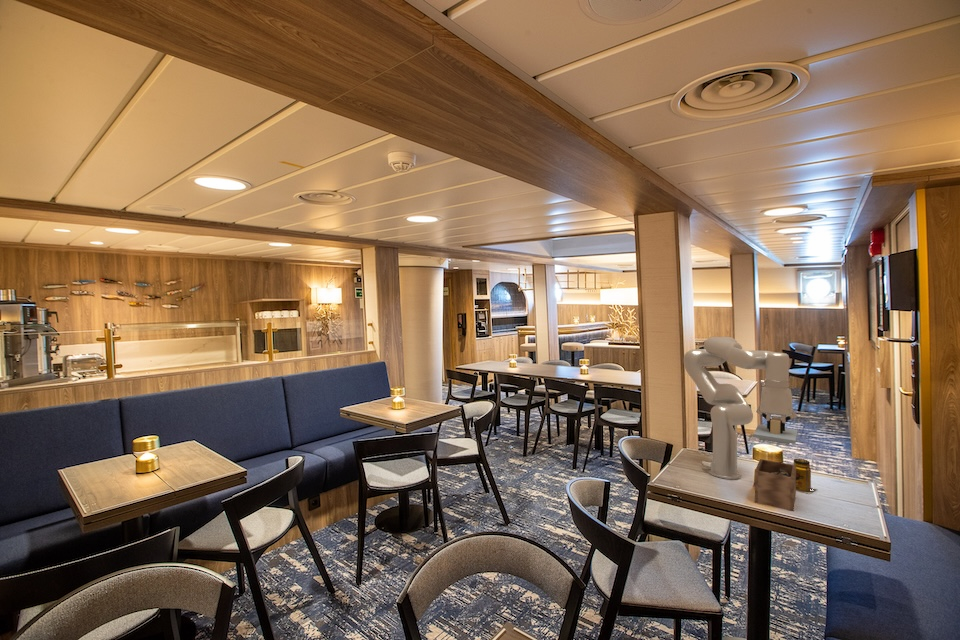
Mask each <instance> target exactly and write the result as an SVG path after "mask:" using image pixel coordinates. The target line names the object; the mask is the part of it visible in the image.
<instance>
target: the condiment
mask: <svg viewBox="0 0 960 640" xmlns="http://www.w3.org/2000/svg"><path fill="white" fill-rule="evenodd" d="M810 464H811V462H810V461H809V460H808V459H803V458H794V459H793V465H796V492H800V493H804V494H808V495H809V494H812V493H814V492H816V491H817V490H818V489H817V488H814V489H813V487H812V484H811V483H812V480H811V479H812V470H811V468H810V467H811V465H810ZM810 489H811V490H812V489H813V490H814V491H810Z"/></svg>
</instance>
